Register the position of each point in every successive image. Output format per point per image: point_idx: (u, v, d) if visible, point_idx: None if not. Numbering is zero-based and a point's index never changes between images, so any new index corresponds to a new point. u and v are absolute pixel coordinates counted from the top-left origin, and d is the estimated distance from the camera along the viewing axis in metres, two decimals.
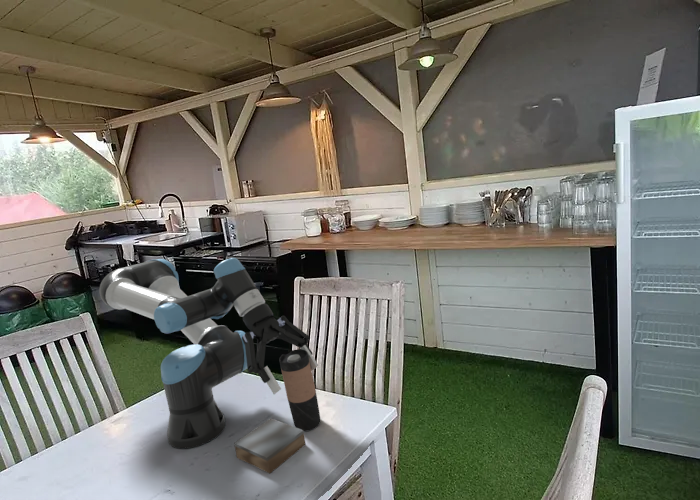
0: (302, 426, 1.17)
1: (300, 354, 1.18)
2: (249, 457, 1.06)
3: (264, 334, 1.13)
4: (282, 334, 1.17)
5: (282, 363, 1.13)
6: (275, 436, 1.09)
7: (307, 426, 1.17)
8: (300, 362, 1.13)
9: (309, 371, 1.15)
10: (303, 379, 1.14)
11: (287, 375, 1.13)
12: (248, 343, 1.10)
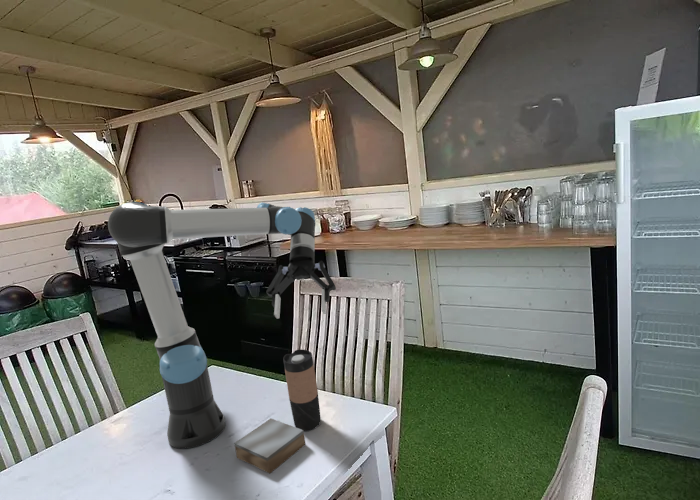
0: (303, 426, 1.16)
1: (304, 354, 1.17)
2: (249, 457, 1.06)
3: None
4: (292, 280, 1.33)
5: (286, 363, 1.12)
6: (275, 436, 1.09)
7: (308, 426, 1.17)
8: (305, 363, 1.12)
9: (313, 372, 1.15)
10: (307, 380, 1.13)
11: (291, 376, 1.13)
12: None
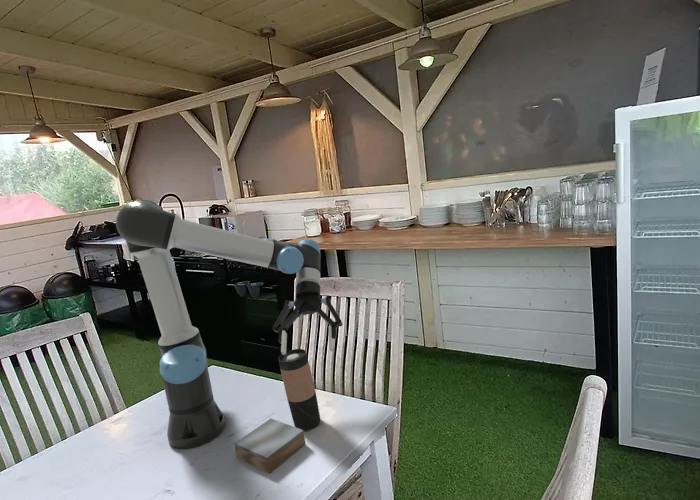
0: (302, 425, 1.17)
1: (299, 353, 1.19)
2: (249, 457, 1.06)
3: None
4: (298, 315, 1.33)
5: (281, 362, 1.14)
6: (275, 436, 1.09)
7: (307, 425, 1.17)
8: (299, 361, 1.14)
9: (308, 370, 1.16)
10: (303, 378, 1.14)
11: (287, 375, 1.14)
12: None
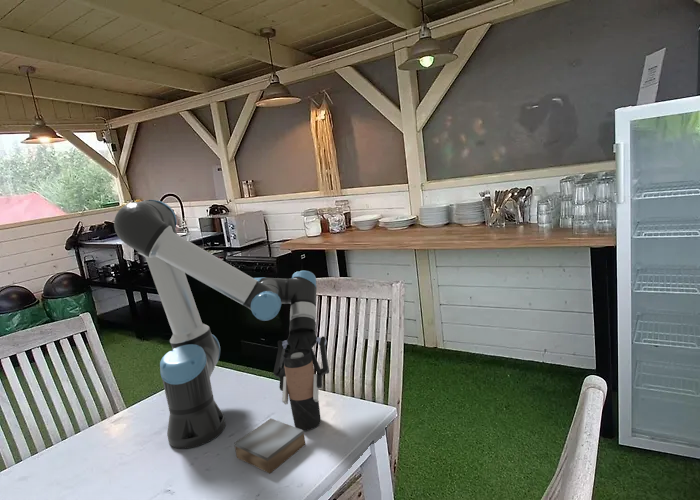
0: (303, 425, 1.17)
1: (303, 352, 1.20)
2: (249, 457, 1.06)
3: None
4: None
5: (286, 359, 1.15)
6: (275, 436, 1.09)
7: (308, 425, 1.17)
8: (304, 358, 1.15)
9: (312, 368, 1.17)
10: (307, 376, 1.15)
11: (291, 372, 1.15)
12: (325, 349, 1.23)
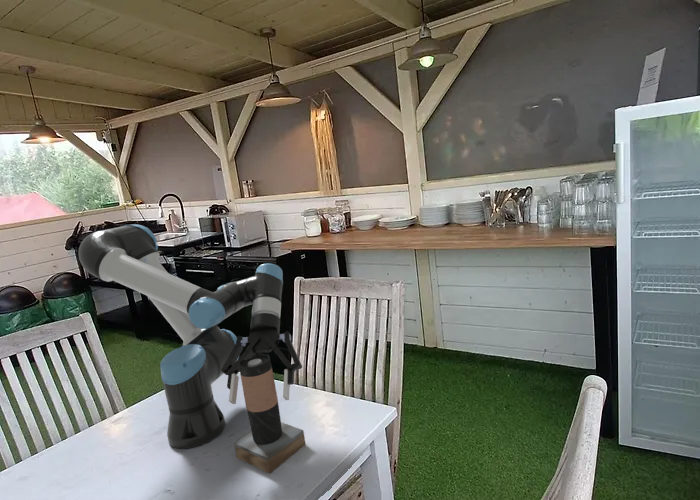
0: (261, 438, 1.06)
1: (262, 359, 1.09)
2: (249, 457, 1.06)
3: None
4: (253, 354, 1.13)
5: (241, 367, 1.04)
6: None
7: (267, 439, 1.06)
8: (261, 366, 1.04)
9: (271, 377, 1.06)
10: (265, 386, 1.04)
11: (247, 381, 1.04)
12: None
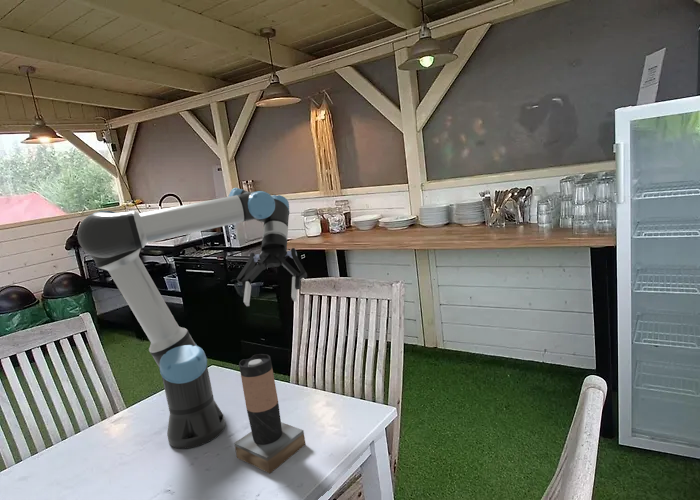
0: (261, 438, 1.06)
1: (262, 359, 1.09)
2: (249, 457, 1.06)
3: None
4: (263, 268, 1.31)
5: (242, 367, 1.04)
6: None
7: (267, 439, 1.06)
8: (262, 367, 1.04)
9: (271, 377, 1.06)
10: (265, 386, 1.04)
11: (247, 381, 1.04)
12: None
